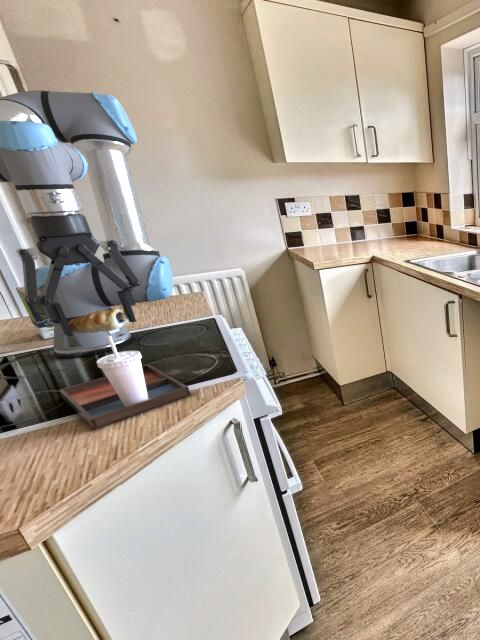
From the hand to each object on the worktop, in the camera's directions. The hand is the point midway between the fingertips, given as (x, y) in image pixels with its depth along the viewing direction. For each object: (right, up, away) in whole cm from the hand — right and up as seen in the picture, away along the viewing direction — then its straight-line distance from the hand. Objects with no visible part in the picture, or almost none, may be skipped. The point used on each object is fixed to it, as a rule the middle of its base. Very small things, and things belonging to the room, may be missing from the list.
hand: (101, 327), depth 87 cm
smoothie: (+10, -15, -4) cm, 19 cm away
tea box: (-50, +1, +43) cm, 66 cm away
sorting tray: (+5, -14, 0) cm, 15 cm away
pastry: (0, 0, 0) cm, 0 cm away
